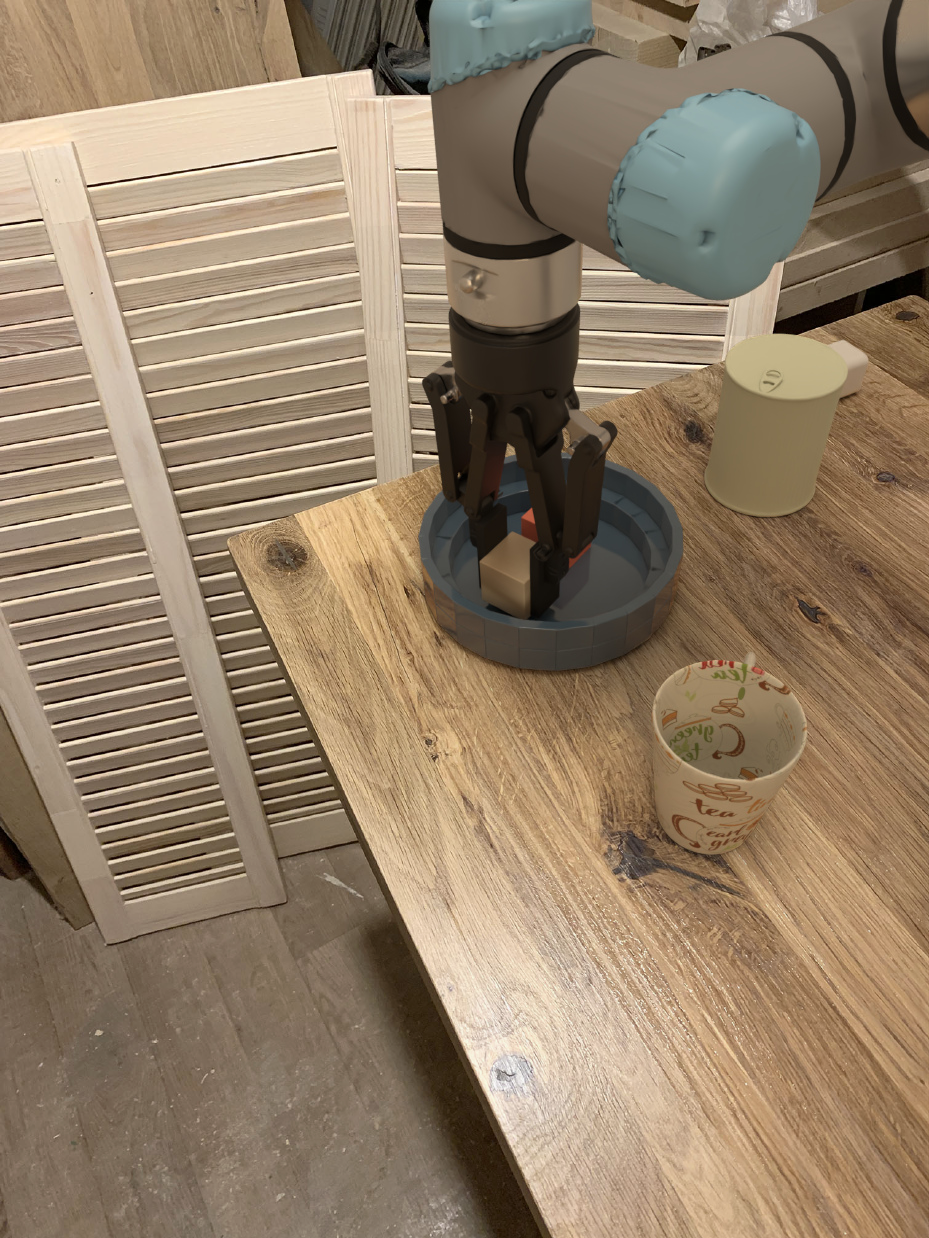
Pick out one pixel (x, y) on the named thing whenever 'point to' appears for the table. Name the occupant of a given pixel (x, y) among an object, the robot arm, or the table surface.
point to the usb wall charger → (851, 366)
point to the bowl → (589, 593)
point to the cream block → (508, 576)
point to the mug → (722, 751)
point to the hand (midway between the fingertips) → (519, 591)
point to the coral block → (530, 532)
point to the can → (773, 423)
